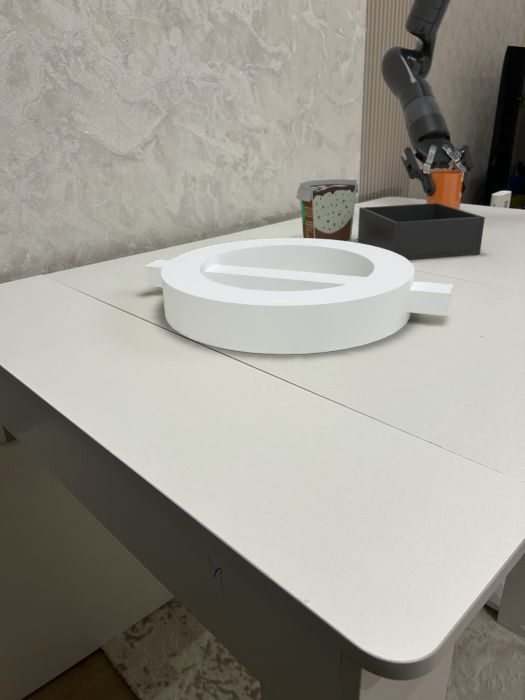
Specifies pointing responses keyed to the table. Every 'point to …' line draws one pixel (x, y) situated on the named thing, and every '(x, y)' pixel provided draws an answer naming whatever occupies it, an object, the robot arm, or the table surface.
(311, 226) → the food container
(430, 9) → the robot arm
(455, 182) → the drinking cup
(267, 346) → the ring with crossbar
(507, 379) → the table surface
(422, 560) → the table surface
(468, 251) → the basket
